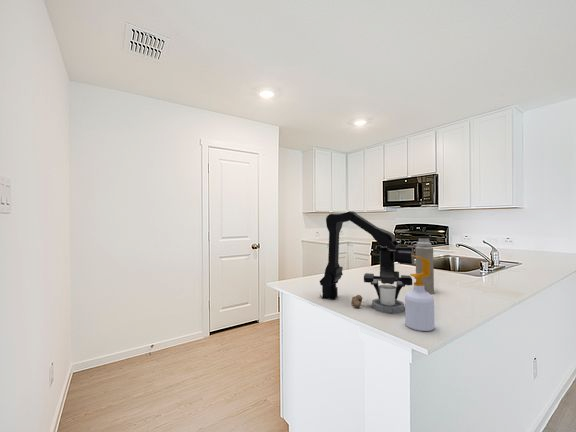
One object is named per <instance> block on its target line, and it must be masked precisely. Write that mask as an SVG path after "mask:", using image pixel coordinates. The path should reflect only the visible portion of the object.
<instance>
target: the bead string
mask: <svg viewBox="0 0 576 432" xmlns="http://www.w3.org/2000/svg"><path fill="white" fill-rule="evenodd" d="M362 301H363V296H362V295H361V294H357V295H355V296H353V297H352V299H351V305H353V306H354V308H356V309H357V308H360V307H361V305H362V304H361V302H362Z"/></svg>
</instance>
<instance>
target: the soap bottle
mask: <svg viewBox="0 0 576 432" xmlns="http://www.w3.org/2000/svg"><path fill="white" fill-rule="evenodd" d="M412 256H414V257H415V258H416V257H417V258H420V259H421V260H422V273H420V274H416V273H410V275H409V276H410V277H413V278H414V279H415V281H414V282H413V289H411V290H409V291H408V292H407V293H406V294H405V295H404V312H405V313H404V315H405V325H406V326H407V327H408V328H410V329H412V330H415V331H420V332H430V331H434V330H435V327H436V326H435V299H434V296H433V294H429V293H428V292H426V291H425V290H424V283H422V279H423V277H429V276H430V261H429V260H428V259H425V258H422V257H418V256H416V254H414V255H412Z"/></svg>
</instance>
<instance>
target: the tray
mask: <svg viewBox="0 0 576 432" xmlns="http://www.w3.org/2000/svg"><path fill="white" fill-rule="evenodd" d="M371 306H372V307H371V308H372V309H374V310H375V311H377V312H381V313H385V314H400V313H403V312H405V302H403V301H401V300H399V299H397V300H396V301H395V305H383V304H381V302H380V299H379V298H373V299H372V301H371Z"/></svg>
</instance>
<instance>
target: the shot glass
mask: <svg viewBox="0 0 576 432" xmlns="http://www.w3.org/2000/svg"><path fill="white" fill-rule="evenodd" d="M379 293H380V302H381V304H383V305H395V295H396V286H394V285H393V284H381V285H379Z"/></svg>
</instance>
